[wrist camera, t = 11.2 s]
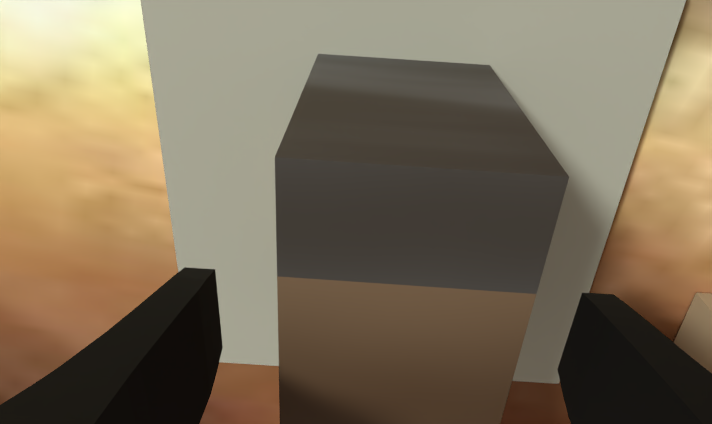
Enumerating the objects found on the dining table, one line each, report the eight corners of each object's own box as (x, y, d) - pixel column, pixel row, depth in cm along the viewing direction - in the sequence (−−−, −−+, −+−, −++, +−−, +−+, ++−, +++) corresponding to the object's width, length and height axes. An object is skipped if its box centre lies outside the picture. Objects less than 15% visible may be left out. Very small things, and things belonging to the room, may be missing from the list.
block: (442, 327, 16) (472, 521, 11) (312, 318, 16) (281, 508, 11) (489, 65, 12) (568, 176, 7) (318, 53, 13) (275, 157, 7)
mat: (554, 372, 18) (558, 383, 17) (195, 349, 18) (190, 360, 18) (679, -18, 12) (691, -15, 12) (143, -48, 12) (134, -47, 12)
